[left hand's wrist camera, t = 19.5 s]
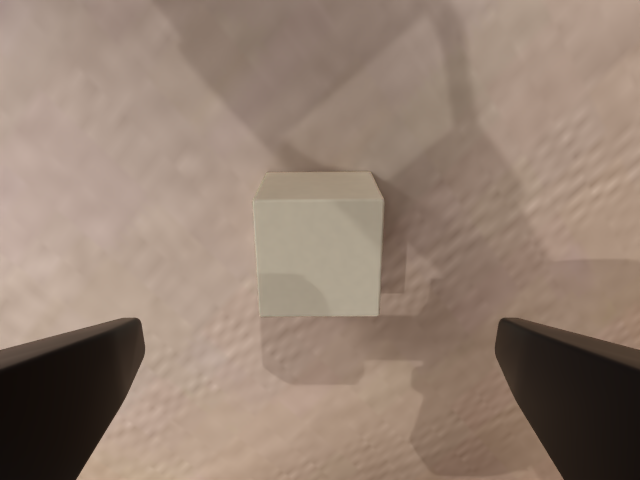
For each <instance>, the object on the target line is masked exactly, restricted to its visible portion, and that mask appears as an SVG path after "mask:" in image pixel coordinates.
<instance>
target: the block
mask: <svg viewBox="0 0 640 480" xmlns="http://www.w3.org/2000/svg"><path fill="white" fill-rule="evenodd" d="M384 206H385V201H384V198H383V196H382V194H381V192H380V190H379V188H378V186H377V184H376V182H375V179H374V177H373V175H372V173H371V172H267V173H266V175H265V177H264V179H263V181H262V183H261V185H260V187H259V189H258V191H257V192H256V194H255V196H254V198H253V201H252V209H253V225H254V242H255V258H256V274H257V290H258V307H259V315H260V317H365V316H379V314H380V292H381V271H382V249H383V227H384Z"/></svg>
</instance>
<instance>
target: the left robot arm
mask: <svg viewBox="0 0 640 480" xmlns="http://www.w3.org/2000/svg"><path fill="white" fill-rule="evenodd" d="M144 354H145V343H144V337H143V331H142V324H141V321H140V320H139V319H138V318H121V319H117V320H113V321H109V322H105V323H101V324H98V325H94V326H90V327H86V328H82V329H79V330H75V331H71V332H67V333H63V334H60V335H56V336H52V337H48V338H44V339H41V340H37V341H33V342H29V343H25V344H22V345H18V346H14V347H10V348H6V349H2V350H0V480H76V479H77V477H78V476H79V474H80V472H81V471H82V469H83V467H84V466H85V464H86V462H87V461H88V459H89V458H90V456H91V454H92V453H93V451H94V449H95V448H96V446H97V444H98V443H99V441H100V439H101V438H102V436H103V435H104V433H105V431H106V430H107V428H108V426H109V425H110V423H111V421H112V420H113V418H114V417H115V415H116V413H117V412H118V410H119V408H120V407H121V405H122V403H123V401H124V400H125V398H126V396H127V394H128V391H129V389H130V387H131V385H132V382H133V380H134V378H135V376H136V374H137V371H138V369H139V367H140V365H141V362H142V360H143V358H144ZM495 354H496V358H497V360H498V362H499V365H500V367H501V369H502V371H503V374H504V376H505V378H506V380H507V382H508V385H509V387H510V389H511V391H512V394H513V396H514V398H515V400H516V401H517V403H518V405H519V407H520V408H521V410H522V412H523V413H524V415H525V417H526V418H527V420H528V421H529V423H530V425H531V426H532V428H533V430H534V431H535V433H536V435H537V436H538V438H539V439H540V441H541V443H542V444H543V446H544V448H545V449H546V451H547V453H548V454H549V456H550V458H551V459H552V461H553V462H554V464H555V466H556V467H557V469H558V471H559V472H560V474H561V476H562V477H563V479H564V480H640V350H638V349H634V348H630V347H626V346H622V345H619V344H615V343H611V342H607V341H603V340H599V339H596V338H592V337H588V336H584V335H580V334H577V333H573V332H569V331H565V330H561V329H558V328H554V327H550V326H546V325H542V324H539V323H535V322H531V321H527V320H523V319H519V318H502V319H501V320H500V321H499V324H498V330H497V337H496V343H495Z"/></svg>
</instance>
